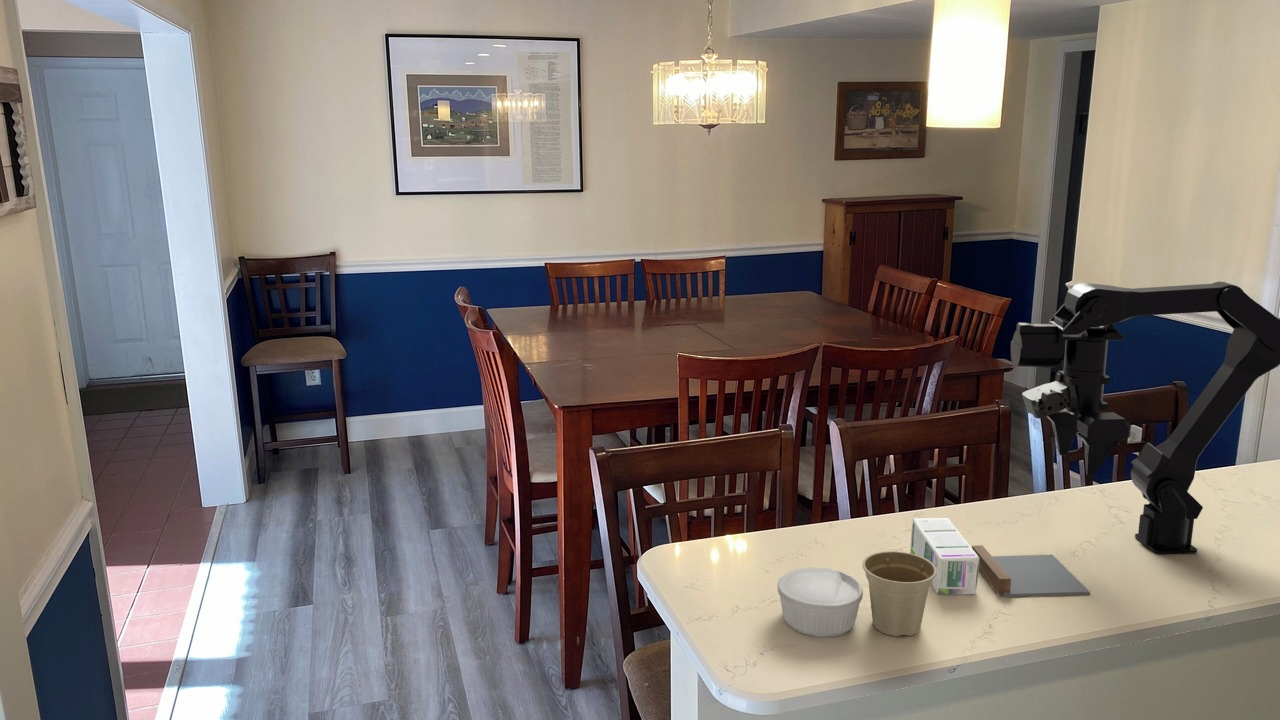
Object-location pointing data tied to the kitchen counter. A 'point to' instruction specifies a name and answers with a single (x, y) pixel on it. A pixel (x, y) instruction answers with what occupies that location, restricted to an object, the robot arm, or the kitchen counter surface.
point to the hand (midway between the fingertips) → (1076, 464)
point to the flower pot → (898, 590)
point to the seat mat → (1039, 576)
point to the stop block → (992, 570)
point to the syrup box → (946, 555)
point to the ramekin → (819, 600)
